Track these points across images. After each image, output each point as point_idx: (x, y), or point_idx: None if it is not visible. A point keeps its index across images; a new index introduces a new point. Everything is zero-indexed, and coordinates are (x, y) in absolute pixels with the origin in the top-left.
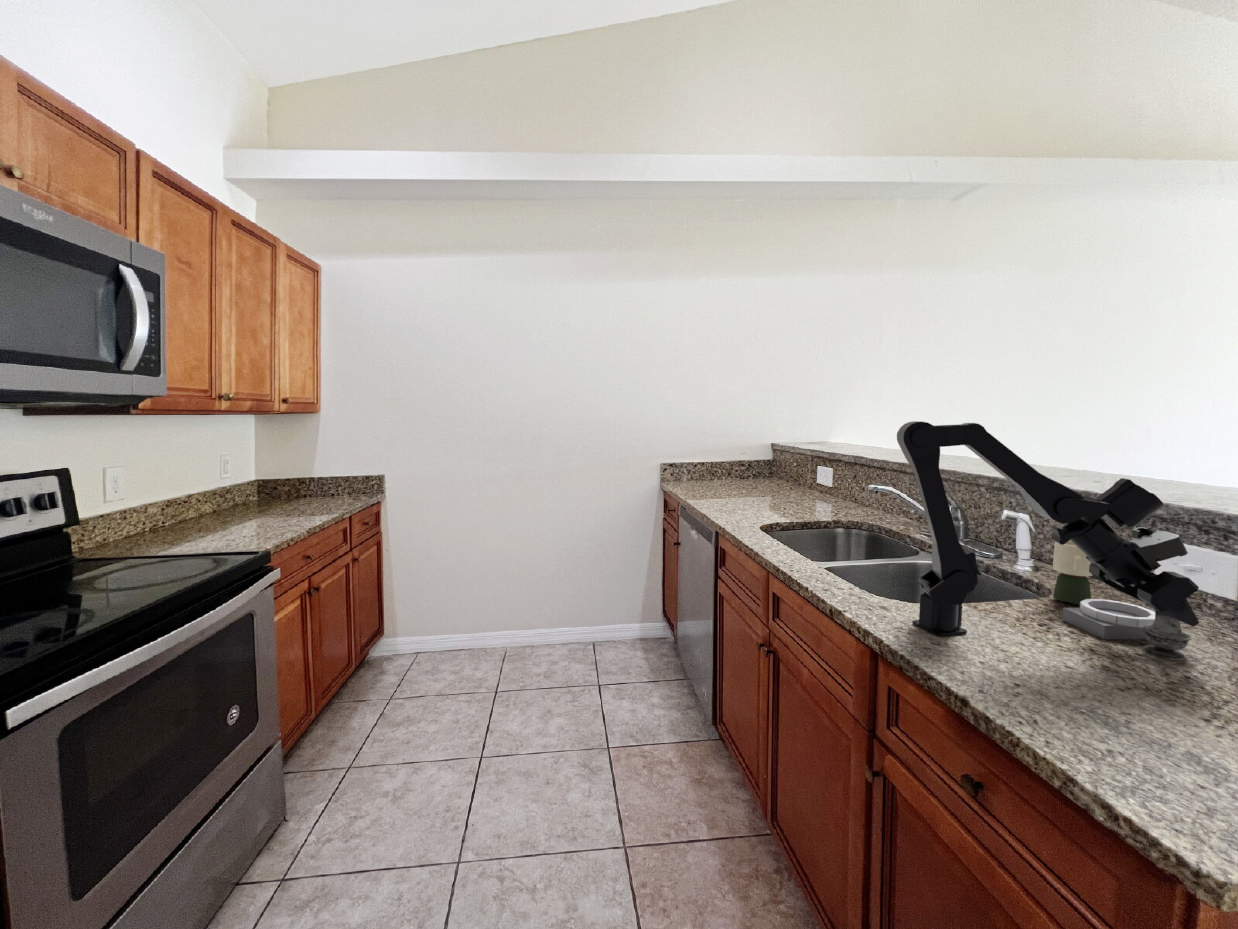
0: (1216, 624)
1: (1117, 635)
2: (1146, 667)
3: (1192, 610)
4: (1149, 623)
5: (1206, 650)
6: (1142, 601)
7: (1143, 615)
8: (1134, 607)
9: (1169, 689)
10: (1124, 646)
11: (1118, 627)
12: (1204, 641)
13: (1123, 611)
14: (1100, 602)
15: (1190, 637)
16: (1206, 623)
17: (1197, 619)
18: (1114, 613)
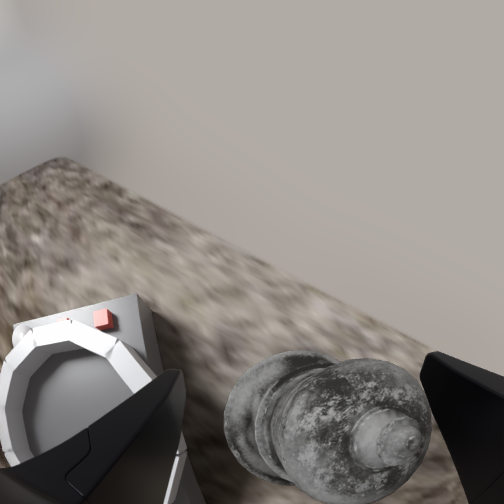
0: (69, 175)
1: (198, 493)
2: (412, 490)
3: (499, 375)
4: None
5: (221, 282)
6: (169, 474)
7: (70, 347)
8: (36, 348)
9: None
10: (263, 498)
11: (191, 500)
12: (153, 247)
13: (35, 370)
14: (10, 420)
15: (331, 359)
16: (63, 186)
17: (454, 358)
18: (56, 418)
